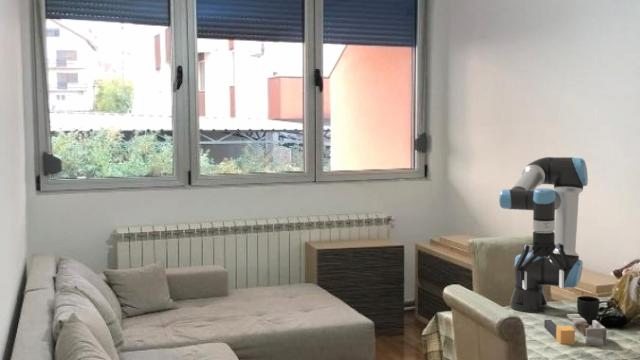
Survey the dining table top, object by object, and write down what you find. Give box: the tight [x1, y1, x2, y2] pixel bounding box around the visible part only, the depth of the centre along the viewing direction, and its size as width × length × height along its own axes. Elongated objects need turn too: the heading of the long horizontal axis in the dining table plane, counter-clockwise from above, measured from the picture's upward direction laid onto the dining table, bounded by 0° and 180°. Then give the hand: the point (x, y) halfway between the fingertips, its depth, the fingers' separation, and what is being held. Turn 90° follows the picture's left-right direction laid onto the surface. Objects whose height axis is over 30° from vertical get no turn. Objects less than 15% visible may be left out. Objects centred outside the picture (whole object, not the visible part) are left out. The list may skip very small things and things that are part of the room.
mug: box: [576, 295, 611, 325], centre depth 275 cm, size 8×12×10 cm
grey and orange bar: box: [543, 319, 576, 345], centre depth 261 cm, size 19×5×5 cm, turn 179°
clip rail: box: [566, 313, 608, 346], centre depth 260 cm, size 22×7×6 cm, turn 179°
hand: (542, 288), depth 256 cm, fingers open, 13 cm apart
